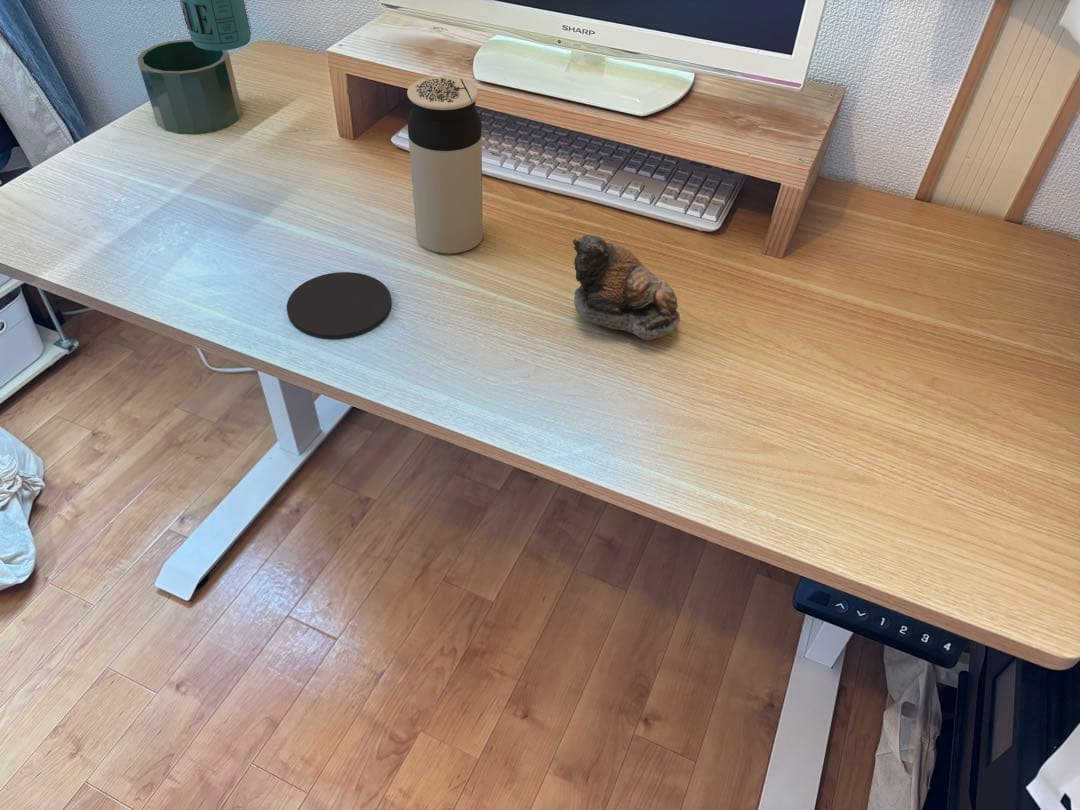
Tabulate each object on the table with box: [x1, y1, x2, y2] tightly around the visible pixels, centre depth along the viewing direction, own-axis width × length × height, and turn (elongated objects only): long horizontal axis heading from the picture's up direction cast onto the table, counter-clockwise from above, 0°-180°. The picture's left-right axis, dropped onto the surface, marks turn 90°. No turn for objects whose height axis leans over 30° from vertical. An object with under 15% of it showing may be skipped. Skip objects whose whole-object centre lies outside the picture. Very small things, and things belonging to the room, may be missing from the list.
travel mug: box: [406, 75, 484, 254], centre depth 89 cm, size 8×8×18 cm
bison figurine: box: [572, 234, 681, 341], centre depth 81 cm, size 12×7×10 cm, turn 75°
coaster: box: [286, 271, 393, 340], centre depth 85 cm, size 11×11×1 cm
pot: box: [136, 38, 243, 135], centre depth 109 cm, size 11×11×10 cm
